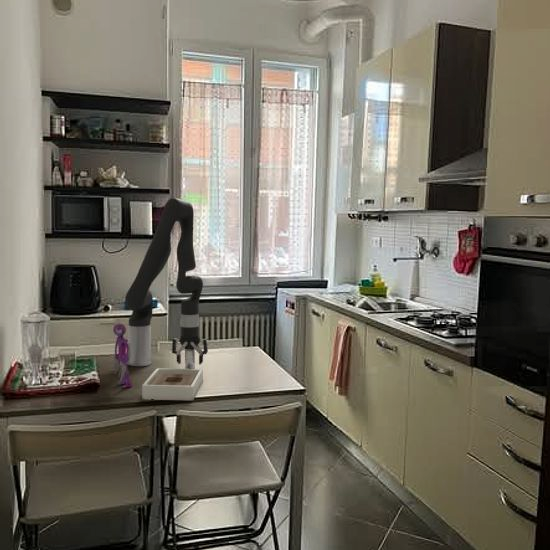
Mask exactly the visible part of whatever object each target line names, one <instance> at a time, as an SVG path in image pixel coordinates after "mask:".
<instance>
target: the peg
mask: <svg viewBox="0 0 550 550" xmlns="http://www.w3.org/2000/svg"><path fill="white" fill-rule="evenodd" d="M195 359H196V350H195V349H193V350H191V349H188V350H186V349H184V369H196V360H195Z"/></svg>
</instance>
